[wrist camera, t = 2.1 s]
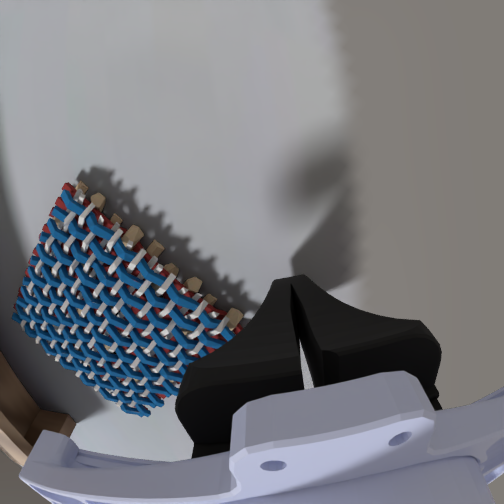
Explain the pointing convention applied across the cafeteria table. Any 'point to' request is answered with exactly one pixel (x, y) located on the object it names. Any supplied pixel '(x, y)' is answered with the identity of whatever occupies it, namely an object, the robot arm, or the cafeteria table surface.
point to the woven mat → (115, 306)
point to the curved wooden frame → (24, 417)
